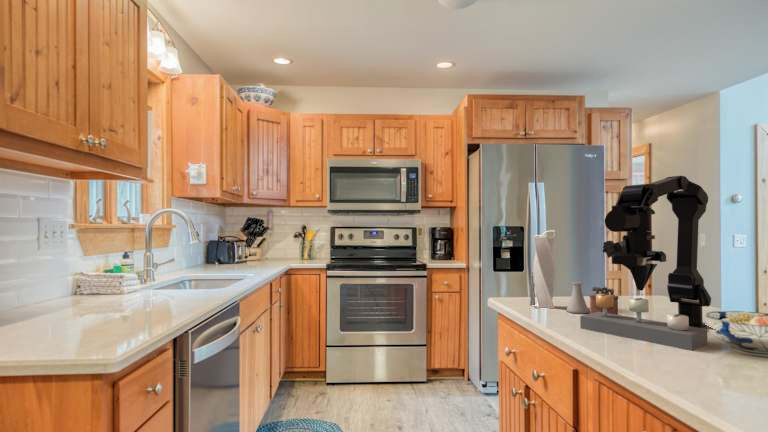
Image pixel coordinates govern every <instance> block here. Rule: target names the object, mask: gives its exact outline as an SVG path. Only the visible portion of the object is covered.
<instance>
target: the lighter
mask: <svg viewBox="0 0 768 432" xmlns="http://www.w3.org/2000/svg"><path fill="white" fill-rule="evenodd" d="M591 291H592V292H595V293H589V303H590V305H589V312H590V313H589V314H591V313H595V312H603V307H600V306H597V305H596V294H610V295H613V296H614V307H607V313H610V314H616V315H619V304H618V303H619V302H618V300H619V296H618V295H614V293H615V292H614V291H615V289H614V288H608V287H606V286H603V287H600V286H592V287H591Z"/></svg>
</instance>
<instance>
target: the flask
mask: <svg viewBox="0 0 768 432" xmlns="http://www.w3.org/2000/svg"><path fill="white" fill-rule="evenodd" d="M571 285H572V293H571V297H570V299H569V302H568V306H567V308H566V312H568V313H571V314H573V313H574V314H590V313H589V312H590V309H589V308H588V305H587V302H586V299H585V297H584V295H583V289H582V285H583V282H580V281H572V282H571Z"/></svg>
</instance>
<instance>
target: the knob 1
mask: <svg viewBox="0 0 768 432" xmlns="http://www.w3.org/2000/svg"><path fill="white" fill-rule="evenodd" d="M595 294H596V293H595ZM613 295H614V294H613ZM613 295H611V294H610V293H609V294H601V293H599V294H596V305H597V306H600V307H603V317H607V307H614V296H613Z"/></svg>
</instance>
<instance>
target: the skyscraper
mask: <svg viewBox="0 0 768 432" xmlns="http://www.w3.org/2000/svg"><path fill="white" fill-rule="evenodd" d="M551 232H553V235H552V236H549V234H547V233H551ZM555 236H556V230H553V229H550V230H546V231H544V232H543V233H542V234H535V235H533V237H532V239H533V243H534V248H535V255H534V261H533V271H531V276H530V278H531V281H530V302H529V305H530V307H532V308H533V307H534V308H533V309H539V308H550V309H553V310H554V309H556V307H555V305H554V302H553V297H554V291H555V286H556V285H555V284H556V283H555V282H556V265H555V259H554V255H553V248H554V247H553V246H554V242H555V241H554V239H555ZM535 304H536V306H532V305H535Z"/></svg>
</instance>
